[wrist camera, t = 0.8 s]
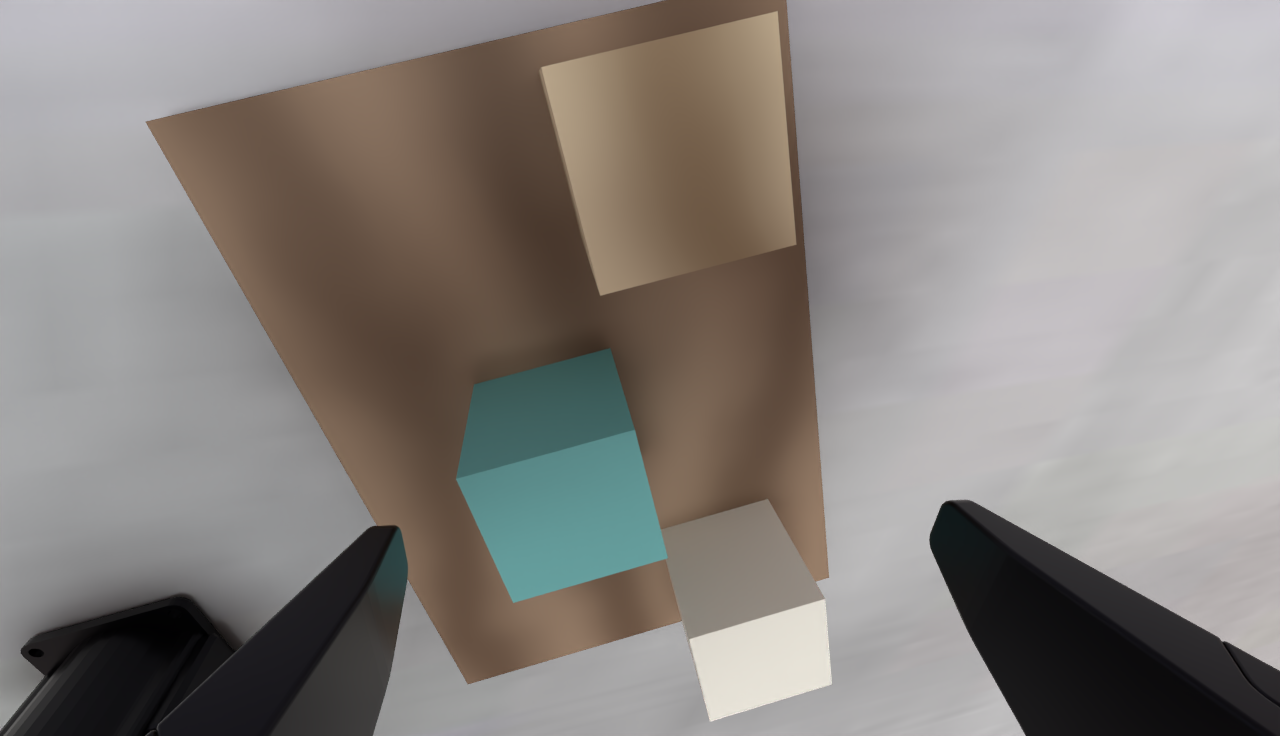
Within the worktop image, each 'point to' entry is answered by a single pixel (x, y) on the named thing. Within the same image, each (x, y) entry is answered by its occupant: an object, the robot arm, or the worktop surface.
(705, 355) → the walnut board
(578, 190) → the birch block
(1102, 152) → the worktop surface
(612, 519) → the teal block
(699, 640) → the off-white block
